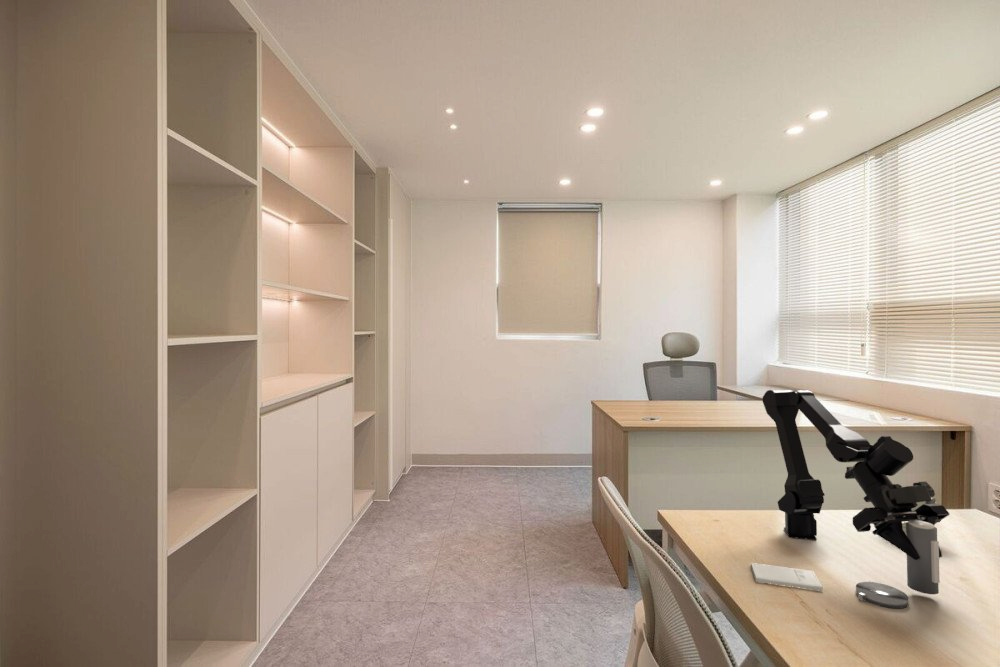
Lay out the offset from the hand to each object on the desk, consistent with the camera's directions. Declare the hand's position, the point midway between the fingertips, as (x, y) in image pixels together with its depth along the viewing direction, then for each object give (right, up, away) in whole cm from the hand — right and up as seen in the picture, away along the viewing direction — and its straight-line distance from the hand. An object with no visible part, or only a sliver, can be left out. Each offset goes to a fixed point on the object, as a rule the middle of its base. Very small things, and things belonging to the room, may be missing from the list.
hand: (928, 558), depth 99 cm
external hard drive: (-23, -9, +9) cm, 27 cm away
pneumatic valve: (+24, -9, +32) cm, 41 cm away
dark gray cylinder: (0, -7, +1) cm, 7 cm away
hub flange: (-9, -8, +1) cm, 12 cm away
